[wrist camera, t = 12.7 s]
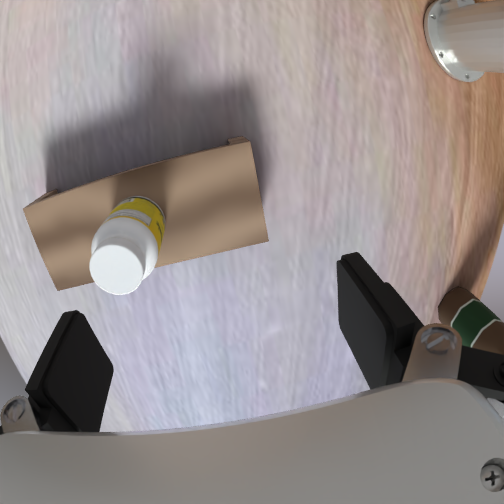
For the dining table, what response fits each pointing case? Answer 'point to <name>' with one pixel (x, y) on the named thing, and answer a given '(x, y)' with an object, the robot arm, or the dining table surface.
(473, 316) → the beer bottle
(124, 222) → the supplement bottle
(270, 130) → the dining table surface
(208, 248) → the wooden shelf
